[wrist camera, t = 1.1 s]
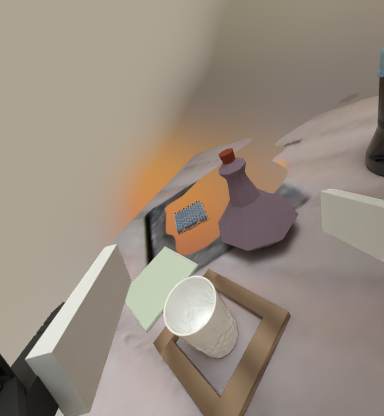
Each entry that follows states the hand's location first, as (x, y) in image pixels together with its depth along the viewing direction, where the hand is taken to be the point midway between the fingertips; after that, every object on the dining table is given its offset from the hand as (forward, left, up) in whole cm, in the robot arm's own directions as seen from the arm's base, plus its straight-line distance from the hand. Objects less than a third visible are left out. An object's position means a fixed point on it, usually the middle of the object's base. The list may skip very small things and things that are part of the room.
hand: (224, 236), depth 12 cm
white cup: (+3, -10, -24) cm, 26 cm away
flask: (-18, -14, -24) cm, 33 cm away
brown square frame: (+3, -10, -23) cm, 26 cm away
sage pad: (+3, -29, -23) cm, 38 cm away
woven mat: (-17, -37, -24) cm, 48 cm away
